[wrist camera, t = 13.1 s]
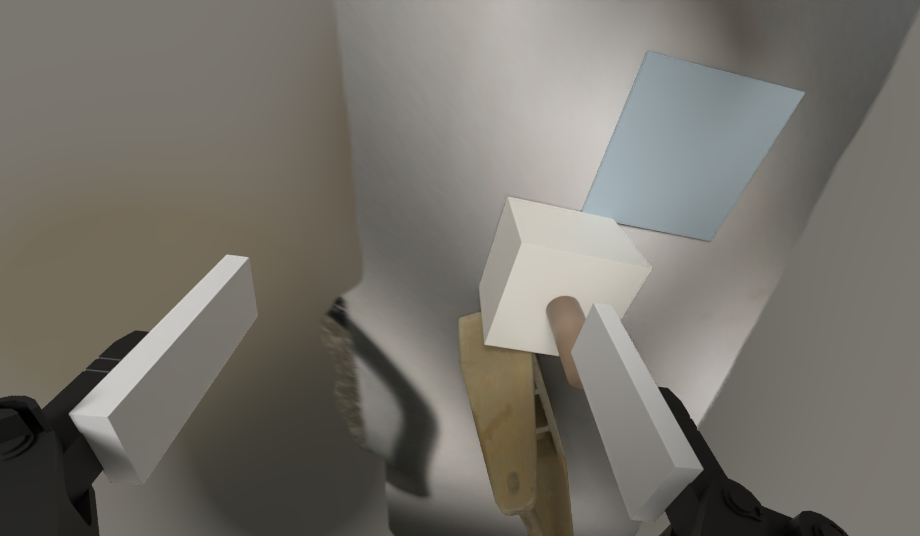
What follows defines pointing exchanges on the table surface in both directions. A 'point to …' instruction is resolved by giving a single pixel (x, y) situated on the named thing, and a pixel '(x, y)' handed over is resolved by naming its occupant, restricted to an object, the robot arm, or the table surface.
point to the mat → (686, 146)
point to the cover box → (554, 278)
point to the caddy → (516, 432)
